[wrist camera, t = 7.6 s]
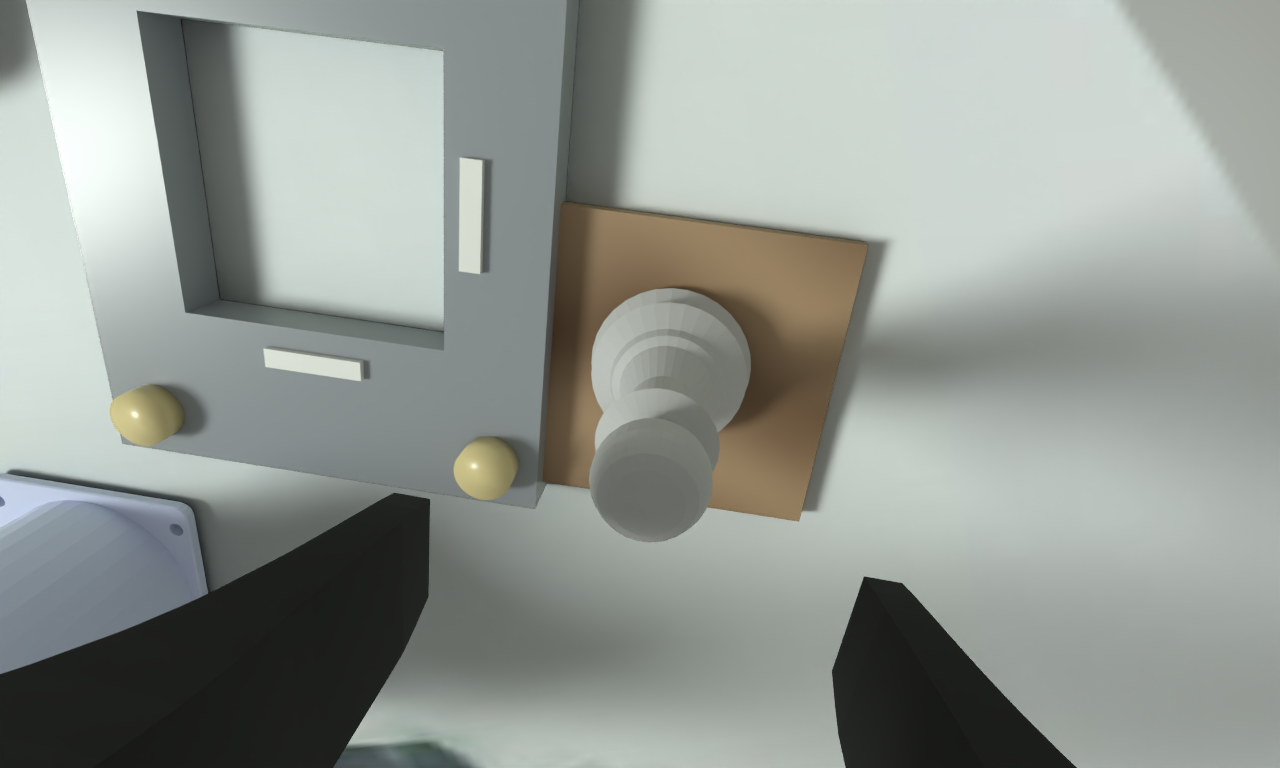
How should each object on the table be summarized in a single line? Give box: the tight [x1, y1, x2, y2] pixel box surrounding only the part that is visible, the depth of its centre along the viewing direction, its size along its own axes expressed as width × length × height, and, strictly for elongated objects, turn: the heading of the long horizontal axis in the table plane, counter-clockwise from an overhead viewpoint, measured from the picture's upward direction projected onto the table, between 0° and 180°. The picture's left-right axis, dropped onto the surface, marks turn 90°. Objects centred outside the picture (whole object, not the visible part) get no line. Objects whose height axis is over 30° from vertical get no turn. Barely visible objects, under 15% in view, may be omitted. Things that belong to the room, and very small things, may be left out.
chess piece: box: [589, 288, 751, 542], centre depth 16 cm, size 5×5×8 cm
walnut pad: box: [543, 202, 868, 521], centre depth 20 cm, size 9×9×1 cm
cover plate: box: [26, 0, 579, 509], centre depth 18 cm, size 18×14×2 cm
